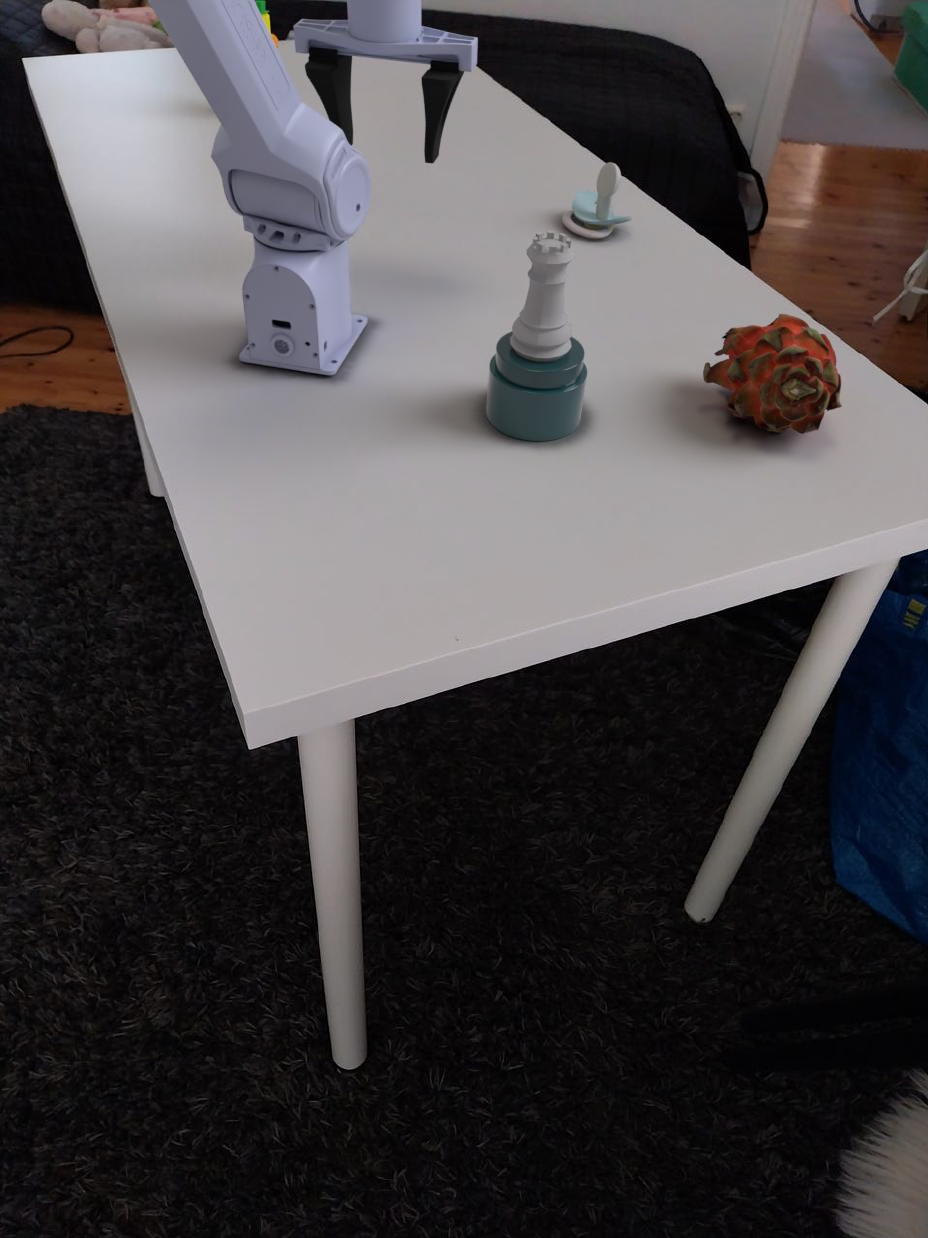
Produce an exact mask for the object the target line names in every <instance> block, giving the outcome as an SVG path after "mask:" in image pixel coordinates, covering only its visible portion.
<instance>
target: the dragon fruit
mask: <svg viewBox="0 0 928 1238" xmlns="http://www.w3.org/2000/svg"><path fill="white" fill-rule="evenodd" d="M721 339H724V340H723V343H722V344H723V345H722V348H721V349H719V350H717V351H716V352H714V353H713V354H714V356H716V357H720V356H722V355H725V356H728V358H726V359H723V360H721V361H718V362H716V363H714V364H713V365H712V366H711V363H710V362H705V363H704V367H703V370H702V378H703V381H704V382H705V383H706V384H715V385H718V386H720V387H722V388H724V389H726V390H729V391H732V395H731V397H730V399H729V400H728V402H727V404H726V408H727V410H728V411H729V413H731V414H732V415H733V416H734V417H735V418H740V419H741V418H742V419H747V418H751V417H753V420H754V423H755V425H756V426H758V427H759V428H760V429H764V430H766V431H767V432H773V433H779V434H783V433H784V432H785V431H787V430H789V429H792V430H793V431H795V432H796V433H799V434H801V435H803V434H806V433H812V432H814V431H819V429H820V426H821V423H822V421H823V419H824V417H825V411H827V412H829V411H833V410H836V409H840V408H842V407H843V405H842V404H841V400H840V396H841V395H840V394H841V391H842V390H841V389H842V377H841V375H840V373H839V372H838V368H837V355H836V351H835V350H834V348H833V346H832V342H831V341H830V339H829V338H828V336H827V335H826V334H825V333H820V332H819V331H818V330H817V329H815V328H812V327H810V325H809V324H808V322H806V321H805V320H803V319H802V318H799V317H797V316H794V315H791V314H790V315H789V314H788V313H779V314H778V316H777V317H775V319H774V320H773V321H772V322H770V323H769V324H767V325H766V326H760V325H754V324H750V325H747V326H741V327H739V326H738V327H730V329H729V330H728V331H727V332H724V335H722V337H721ZM733 391H734V392H733Z"/></svg>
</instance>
